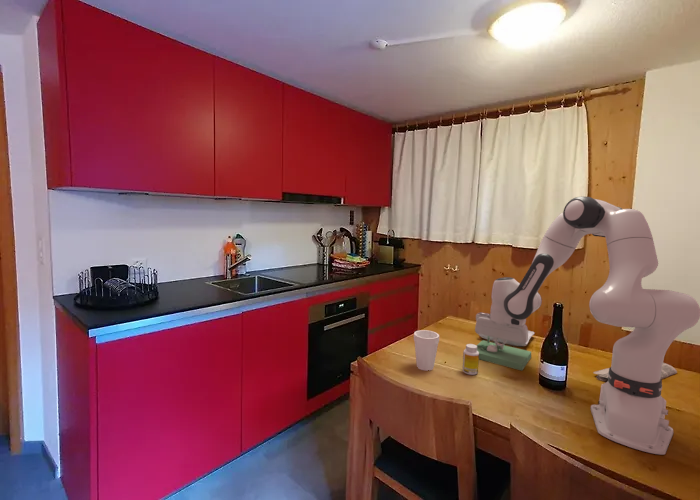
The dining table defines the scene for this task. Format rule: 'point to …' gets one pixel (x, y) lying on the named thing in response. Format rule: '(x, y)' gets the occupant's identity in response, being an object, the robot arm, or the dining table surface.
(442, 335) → the dining table surface
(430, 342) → the foam cup
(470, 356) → the supplement bottle
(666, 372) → the newspaper
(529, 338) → the salad plate
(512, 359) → the golf putting green
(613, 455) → the dining table surface
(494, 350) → the ball
